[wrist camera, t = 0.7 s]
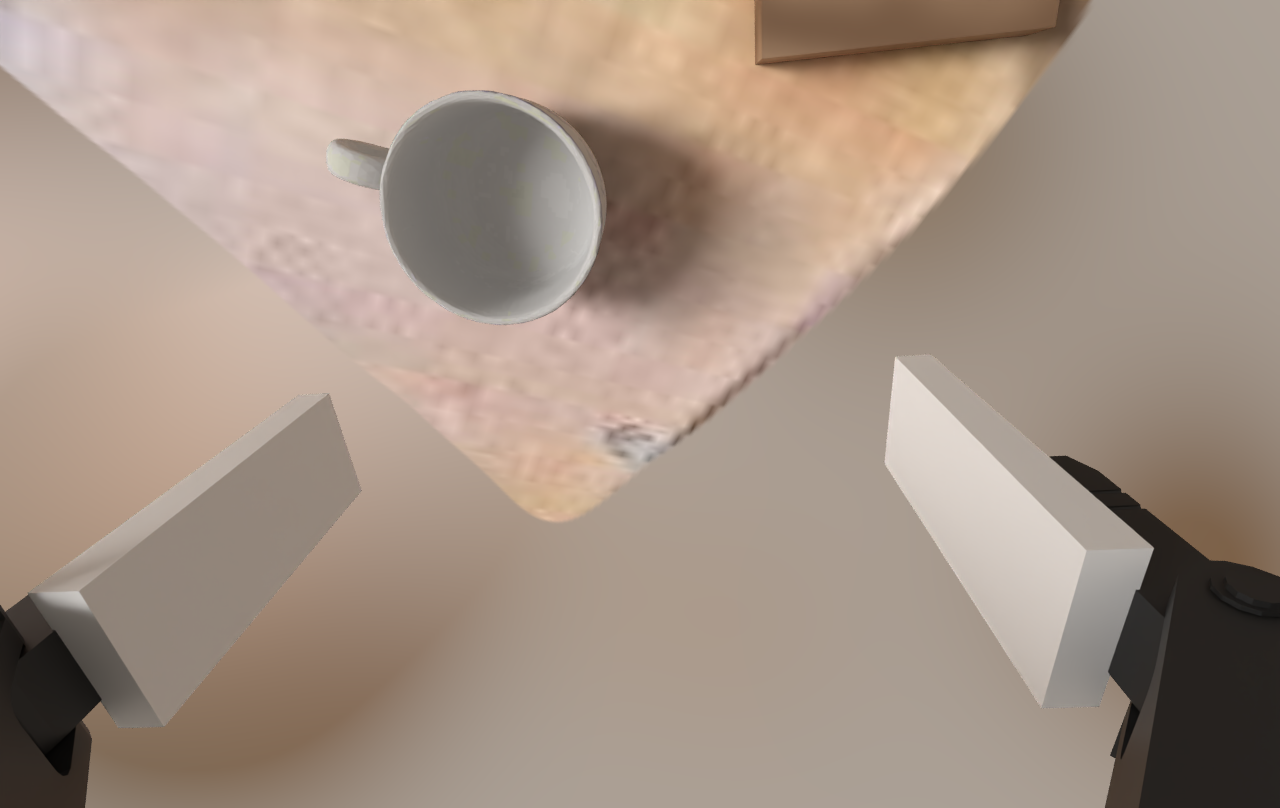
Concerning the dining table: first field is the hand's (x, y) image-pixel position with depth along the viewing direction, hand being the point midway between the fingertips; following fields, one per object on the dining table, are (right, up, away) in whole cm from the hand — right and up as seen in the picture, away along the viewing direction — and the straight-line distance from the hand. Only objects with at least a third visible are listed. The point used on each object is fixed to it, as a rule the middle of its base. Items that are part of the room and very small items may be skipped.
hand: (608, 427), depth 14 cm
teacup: (-8, +13, +21) cm, 26 cm away
